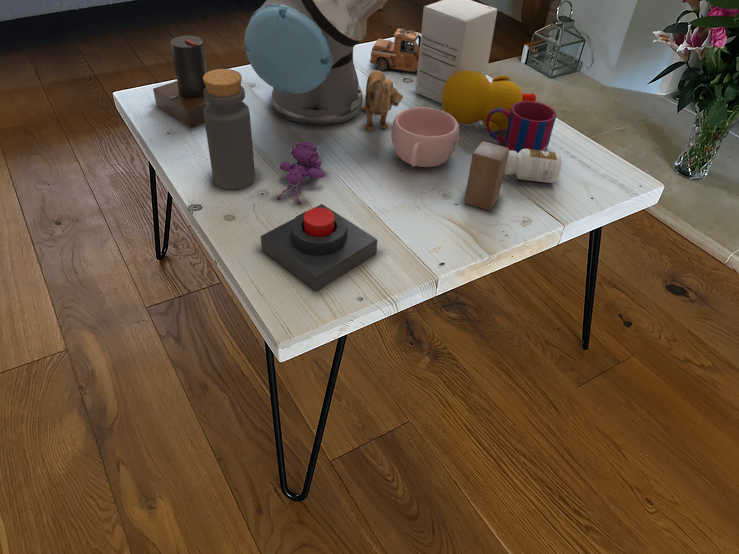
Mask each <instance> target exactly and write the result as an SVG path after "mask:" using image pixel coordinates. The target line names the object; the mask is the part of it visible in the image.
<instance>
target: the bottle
mask: <svg viewBox="0 0 739 554" xmlns="http://www.w3.org/2000/svg"><path fill="white" fill-rule="evenodd" d="M203 80H204V83H205V85H206V88H205V89H204V98H205V100H206V101H207V102H208V103H209V104H207V105H206V106H205V108H204V120H205V123H204V126H205V132H206V140H207V149H208V154H209V160H210V161H209V162H210V167H211V174H212V178H213V182H214V184H215V186H217V187H218V188H221V189H224V190H232V191H235V190H241V189H245V188H247V187H249V186H251V185H252V184H253V183H254V182H255V179H256V168H255V157H254V156H255V155H254V146H253V145H254V144H253V135H252V125H251V124H252V123H251V112H250V107H249V106H248V104H246V103H245V102H244V100H245V98H246V91H245V88H244V86H243V85H242V74H241V72H239V71H237V70H234V69H229V68H217V69H213V70H209V71H207V73H206V74H205V75H204V76H203Z"/></svg>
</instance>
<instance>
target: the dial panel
mask: <svg viewBox="0 0 739 554" xmlns="http://www.w3.org/2000/svg"><path fill="white" fill-rule="evenodd" d="M152 91H153V95H154V96H153V97H154V100H155V106H156V107H158V108H160V109H161V110H162V111H163V112H166V113H167V114H169V115H170V116H172V117H173V118H175V119H176V120H178V121H180V122H181V123H182V124H184V125H186V126H187V127H189V128H191V129H192V128H195V127H197V126H200V125H203V124H205V120H204V108H205V106H206V105H207V104H209V103H208V102H207V101H206V100H205V98H204V95H203V96H200V97H186V96H183V95H181V94H180V93H179V90H178V84H177V80H175V81H173V82H168V83H166V84H163V85H160V86H157V87H154V88H152Z"/></svg>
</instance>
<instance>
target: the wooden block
mask: <svg viewBox="0 0 739 554" xmlns="http://www.w3.org/2000/svg"><path fill="white" fill-rule="evenodd" d="M508 155H509V148H506V147H503V145H499V144H495V143H491V142H488V141H483V140H482V141H481V142H480V143H479V144H478V146H477V147H476V149H475V150H474V151H473V153H472V155H471V161H470V166H469V171H468V176H467V182H466V187H465V193H464V199H463V202H464V204H466V205H470V206H473V207H475V208H479V209H483V210H485V211H492V209H493V208H494V206H495V204H496V202H497V201H498V199H499V197H500V193H501V189H502V186H503V181H504V176H505V174H504V172H505V168H506V164H507V159H508Z"/></svg>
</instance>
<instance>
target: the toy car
mask: <svg viewBox="0 0 739 554" xmlns="http://www.w3.org/2000/svg"><path fill="white" fill-rule="evenodd" d="M393 37H394V41H392V40H390V39H389V40H388V39H383V38H377V40H376V41H375V43H374V45H373V46H372V48H371V51H370V59H369V63H370V64H371V65H375V66H376V68H377V70H379V71H381V72H384V71H398V72H404V73H413V74H415V73H417V71H418V61H419V51H420V41H421V32H418V31H415V30H411V29H409V28H406V27H401V28H397V29H396V31H395V32H394V33H393ZM417 41H418V43H417Z"/></svg>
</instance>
